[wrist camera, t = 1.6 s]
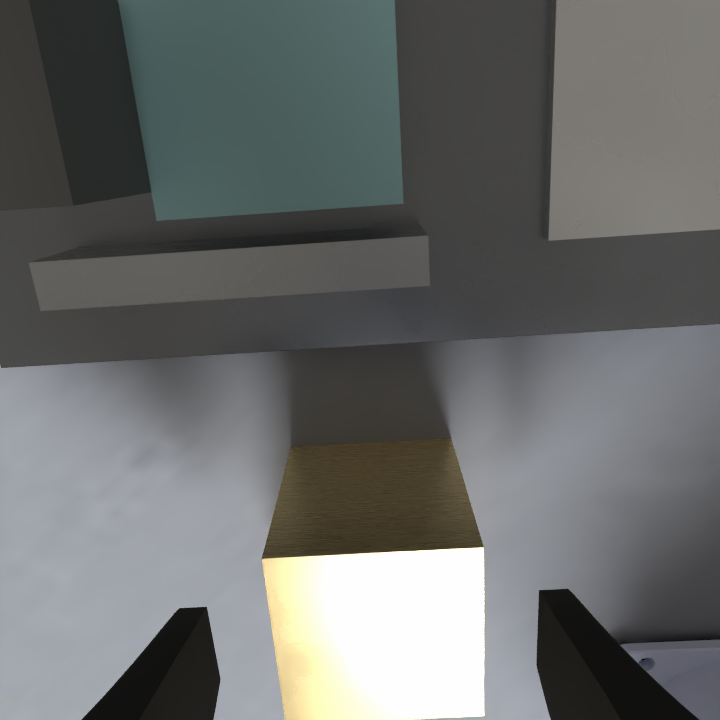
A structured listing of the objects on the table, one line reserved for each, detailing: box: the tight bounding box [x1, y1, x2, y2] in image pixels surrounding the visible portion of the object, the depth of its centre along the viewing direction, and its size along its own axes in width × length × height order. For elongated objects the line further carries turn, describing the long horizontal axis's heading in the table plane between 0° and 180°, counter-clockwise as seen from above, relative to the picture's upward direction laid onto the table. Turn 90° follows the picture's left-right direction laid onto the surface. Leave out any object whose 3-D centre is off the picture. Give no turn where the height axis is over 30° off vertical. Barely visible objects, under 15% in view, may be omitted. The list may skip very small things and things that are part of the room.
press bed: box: [0, 0, 720, 368], centre depth 12 cm, size 20×11×3 cm, turn 94°
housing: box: [262, 438, 484, 720], centre depth 15 cm, size 4×4×5 cm
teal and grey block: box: [0, 0, 403, 221], centre depth 10 cm, size 6×4×5 cm, turn 94°
